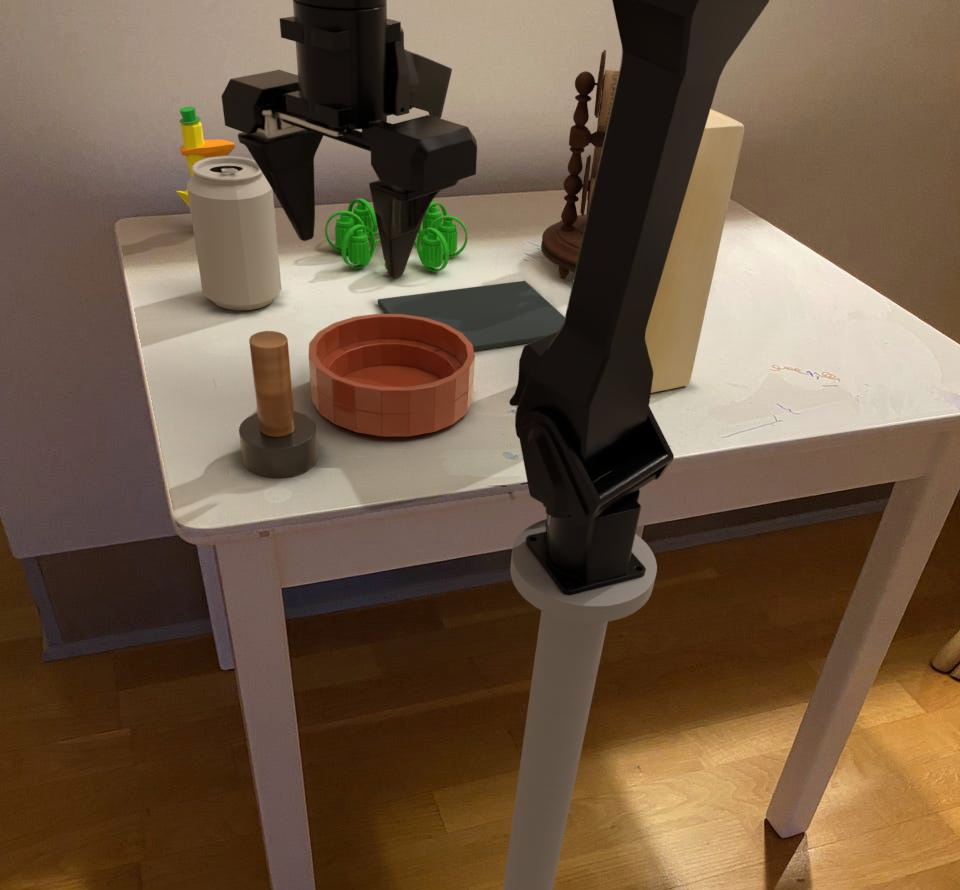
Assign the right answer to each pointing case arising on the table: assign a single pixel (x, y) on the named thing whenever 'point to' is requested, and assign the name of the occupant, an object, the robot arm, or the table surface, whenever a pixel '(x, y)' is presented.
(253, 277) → the can
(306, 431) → the coffee tamper
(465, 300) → the mat
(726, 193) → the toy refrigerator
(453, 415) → the bowl
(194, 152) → the toy figure
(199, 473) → the table surface
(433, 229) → the chandelier
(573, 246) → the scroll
